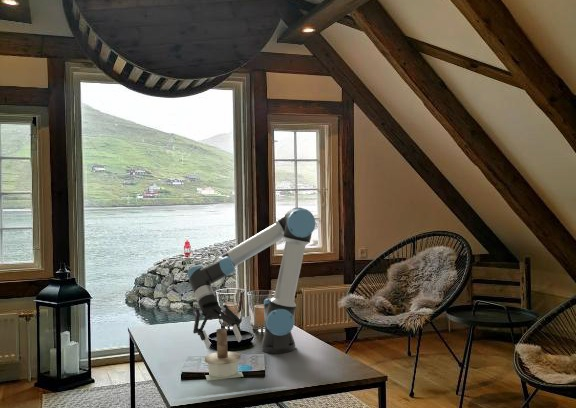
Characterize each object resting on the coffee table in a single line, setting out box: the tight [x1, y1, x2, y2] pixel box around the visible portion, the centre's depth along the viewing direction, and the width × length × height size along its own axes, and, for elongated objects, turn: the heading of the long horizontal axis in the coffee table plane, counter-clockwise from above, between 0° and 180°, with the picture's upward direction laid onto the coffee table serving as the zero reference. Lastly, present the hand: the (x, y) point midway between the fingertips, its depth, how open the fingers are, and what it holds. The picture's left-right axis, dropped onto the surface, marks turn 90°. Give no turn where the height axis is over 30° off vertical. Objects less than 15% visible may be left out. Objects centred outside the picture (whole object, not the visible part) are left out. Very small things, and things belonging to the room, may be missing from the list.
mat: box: [205, 371, 244, 381], centre depth 224 cm, size 14×14×1 cm
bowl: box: [207, 360, 239, 378], centre depth 224 cm, size 11×11×6 cm
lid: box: [204, 328, 242, 365], centre depth 224 cm, size 14×14×12 cm
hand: (224, 343), depth 222 cm, fingers open, 13 cm apart
